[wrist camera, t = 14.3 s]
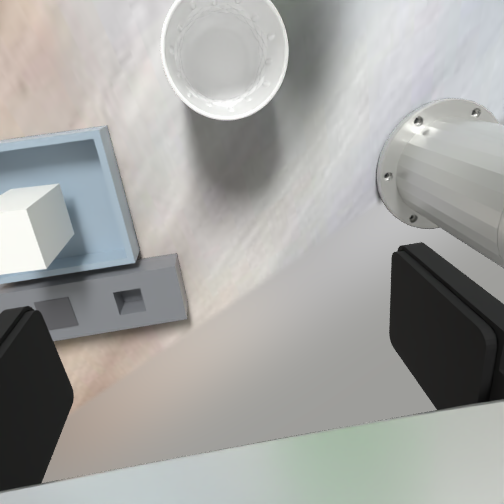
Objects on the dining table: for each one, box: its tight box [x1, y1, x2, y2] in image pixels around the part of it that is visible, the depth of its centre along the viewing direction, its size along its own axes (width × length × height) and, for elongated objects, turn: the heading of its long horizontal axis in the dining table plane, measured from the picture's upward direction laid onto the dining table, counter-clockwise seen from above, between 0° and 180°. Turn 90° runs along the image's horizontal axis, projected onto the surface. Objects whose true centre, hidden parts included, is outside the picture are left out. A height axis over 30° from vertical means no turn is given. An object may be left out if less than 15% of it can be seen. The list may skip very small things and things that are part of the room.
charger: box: [0, 184, 74, 275], centre depth 32 cm, size 4×5×9 cm
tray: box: [0, 126, 140, 284], centre depth 35 cm, size 13×12×3 cm
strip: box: [0, 253, 188, 341], centre depth 39 cm, size 20×6×4 cm, turn 97°
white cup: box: [160, 0, 289, 121], centre depth 29 cm, size 8×8×10 cm
